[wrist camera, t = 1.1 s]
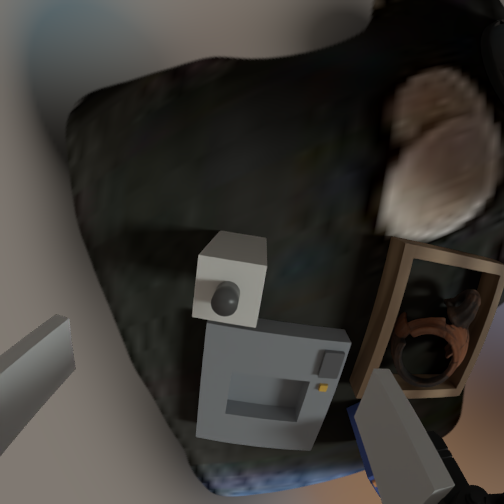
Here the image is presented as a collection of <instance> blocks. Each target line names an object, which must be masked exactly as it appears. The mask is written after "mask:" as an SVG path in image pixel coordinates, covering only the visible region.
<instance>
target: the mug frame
mask: <svg viewBox="0 0 504 504" xmlns="http://www.w3.org/2000/svg"><path fill="white" fill-rule="evenodd" d="M413 258H416V259H421V260H426V261H432V262H437V263H442V264H447V265H452V266H457V267H462V268H467V269H472V270H477V271H482V274H481V278H480V281H479V285H478V288H477V291H478V293H479V295H480V298H481V304H480V306H479V309H478V311H477V313H476V316H475V318H474V319H473V321H472V322H471V323H470V325H469V327H468V330H469V343H468V349H467V352H466V355H465V357H464V359H463V361H462V362H461V364H460V365H459V366H458V367H457V368H456V369H455V371H454V372H453V374H452V375H451V376H450V377H449V378H448V379H447V380H445V381H444V382H443V383H441V384H439V385H436V386H433V387H427V388H425V387H418V386H413V385H411V384H409V383H407V382H406V381H404V380H403V379H402V378H401V376H399V374H393V376H394V378H395V379H396V381H397V383H398V384H399V386H400V388H401V389H402V391H403V393H404V394H405V396H406V398H407V399H410V398H434V397H449V396H459V395H460V393H461V391H462V389H463V387H464V385H465V383H466V381H467V379H468V377H469V375H470V373H471V371H472V369H473V367H474V364H475V362H476V360H477V358H478V356H479V353H480V351H481V349H482V346H483V344H484V341H485V339H486V336H487V334H488V331H489V329H490V326H491V323H492V321H493V318H494V315H495V312H496V309H497V306H498V303H499V300H500V297H501V294H502V291H503V287H504V264H503V263H500V262H498V261H496V260H493V259H490V258H486V257H482V256H478V255H474V254H470V253H465V252H461V251H457V250H452V249H448V248H444V247H439V246H435V245H430V244H426V243H421V242H416V241H412V240H407V239H402V238H397V237H392V236H391V240H390V244H389V249H388V253H387V257H386V262H385V266H384V270H383V274H382V278H381V281H380V285H379V289H378V293H377V296H376V300H375V303H374V307H373V310H372V314H371V317H370V320H369V323H368V327H367V330H366V333H365V336H364V339H363V342H362V345H361V348H360V351H359V354H358V357H357V360H356V363H355V366H354V368H353V371H352V374H351V377H350V379H349V381H350V384H351V386H352V389H353V392H354V394H355V397H356V398H362V397H363V395H364V392H365V390H366V387H367V385H368V382H369V380H370V377H371V374H372V372H373V369H378V368H379V366H380V363H381V361H382V358H383V355H384V353H385V350H386V347H387V344H388V342H389V339H390V336H391V333H392V330H393V327H394V324H395V321H396V318H397V315H398V312H399V308H400V305H401V302H402V298H403V295H404V292H405V288H406V285H407V281H408V277H409V273H410V270H411V266H412V262H413ZM452 358H453V357H452ZM451 361H452V359H451ZM451 361H450V364H451ZM450 364H449V365H450ZM448 367H449V366H448ZM412 375H415V376H417V377H421V378H431V377H435V376H438V375H440V374H412Z"/></svg>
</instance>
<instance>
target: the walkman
mask: <svg viewBox="0 0 504 504" xmlns="http://www.w3.org/2000/svg"><path fill="white" fill-rule="evenodd" d="M360 402H361V401H360ZM360 402H358V403H356V404H354V405H352V406H350V407H348V408H346V409H347V412H348V415H349V418H350V422H351V425H352V428H353V431H354V434H355V438H356V441H357V444H358V447H359V451H360V454H361V457H362V460H363V464H364V467H365V471H366V474H367V477H368V479H369V480H370V482H371V484H372V485H373V487H374V489H375V490H376V492H377V493H378V495H379V497H380V494H379V491H378V488H377V485H376V482H375V478H374V475H373V472H372V469H371V466H370V463H369V460H368V457H367V454H366V451H365V448H364V445H363V442H362V439H361V436H360V433H359V430H358V427H357V424H356V421H355V418H354V416H355V413H356V411H357V409H358V406H359V404H360Z"/></svg>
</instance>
